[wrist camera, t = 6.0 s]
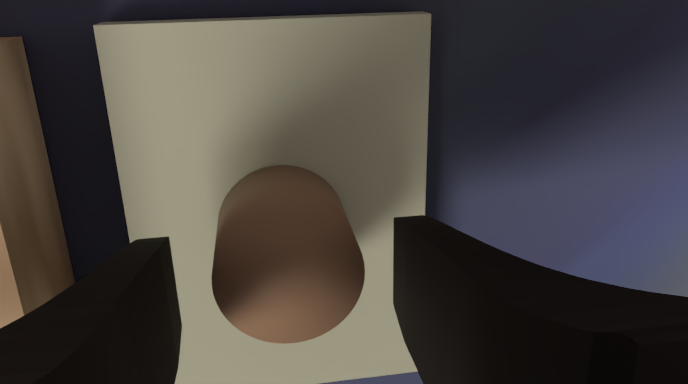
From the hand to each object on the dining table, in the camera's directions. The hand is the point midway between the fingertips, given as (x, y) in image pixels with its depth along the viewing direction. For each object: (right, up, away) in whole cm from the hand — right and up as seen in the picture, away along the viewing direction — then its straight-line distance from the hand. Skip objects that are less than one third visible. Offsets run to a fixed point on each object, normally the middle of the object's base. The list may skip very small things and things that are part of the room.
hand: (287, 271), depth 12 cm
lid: (-1, +1, +3) cm, 3 cm away
